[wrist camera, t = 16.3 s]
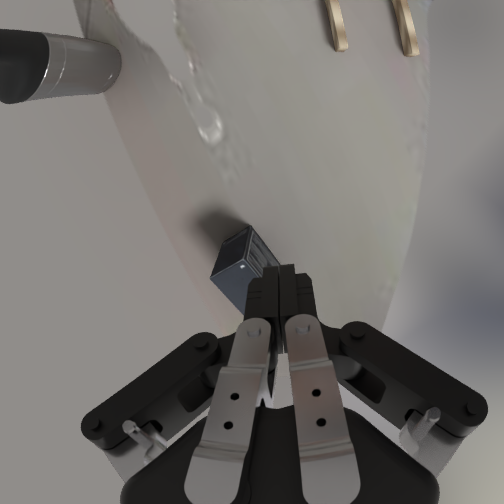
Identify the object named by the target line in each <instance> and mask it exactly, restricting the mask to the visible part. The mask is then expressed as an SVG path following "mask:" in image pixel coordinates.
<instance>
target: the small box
mask: <svg viewBox="0 0 504 504" xmlns="http://www.w3.org/2000/svg"><path fill="white" fill-rule="evenodd" d="M277 265H278V267H279V265H280V263H279V262H278V261H277V259H276V258H275V257H274V255H273V254H272V253H271V251H270V250H269V249H268V247H267V246H266V245H265V243H264V242H263V241H262V239H261V238H260V237H259V235H258V234H257V233H256V232H255V230H254V229H253V228H252V226H249V227H247V228H246V229H245V230H242V231H241V232H240V233H238V234H236V235H235V236H233V237H232V238H229V239H228V240H226V241H225V242H224V243H223V244H222V247H221V249H220V252H219V255H218V258H217V260H216V263H215V265H214V268H213V271H212V274H211V276H210V280H211V281H212V282H213V283H214V284H215V285H216V286H217V287H218V288H219V289H220V291H221V292H222V293H223V294H224V295H225V296H226V297H227V298H228V299H229V300H230V301H231V302H232V303H233V305H234V306H235V307H236V308H237V309H238V310H239V311H240V312H241V313H242V314H243V315H244V313H245V305H246V300H247V299H246V298H247V290H248V284H249V283H250V282H251V280H252V279H253V278H258V277H263V267H266V266H277Z"/></svg>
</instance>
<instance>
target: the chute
mask: <svg viewBox="0 0 504 504" xmlns="http://www.w3.org/2000/svg"><path fill="white" fill-rule="evenodd" d="M392 3H393V6H394V10H395V14H396V18H397V22H398V26H399V31H400V36H401V40H402V46H403V51H404V56H408V57H413V56H416V55H419V49H418V44H417V39H416V34H415V30H414V25H413V21H412V17H411V13H410V9H409V6H408V2H407V0H392ZM325 4H326V8H327V12H328V17H329V21H330V26H331V31H332V36H333V41H334V46H335V52H344V51H345V50H346V49H348V43H347V38H346V33H345V28H344V24H343V19H342V15H341V10H340V6H339V2H338V0H325Z"/></svg>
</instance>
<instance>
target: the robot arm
mask: <svg viewBox="0 0 504 504" xmlns="http://www.w3.org/2000/svg"><path fill="white" fill-rule="evenodd" d="M120 68H121V57H120V54H119V52H118V50H117V49H116V48H115V47H114V46H112V45H108V44H104V43H100V42H98V41H93V40H89V39H84V38H78V37H73V36H67V35H58V34H50V33H42V32H30V31H21V30H9V29H0V101H1V102H3V103H5V104H14V103H19V102H24V101H31V100H37V99H44V98H52V97H61V96H73V95H88V94H99V93H102V92H104V91H106V90H107V89H108V88H109V87H111V86H112V84H113V83H114V82H115V80H116V79H117V77H118V75H119V72H120ZM246 299H247V300H246V305H245V313H244V320H243V322H242V323H241V324H240V325H239V326H238V328H237V331H236V332H235V333H233V334H231V335H229V336H226V337H222V338H219V339H217V337H216V336H215V335H214V334H212V333H208V332H202V333H198V334H195V335H193V336H192V337H190V338H189V339H188V340H186V341H185V342H184V343H183V344H181V345H180V346H179V347H177V348H176V349H175V350H173V351H172V352H171V353H169V354H168V355H167V356H165V357H164V358H163V359H161V360H160V361H159V362H157V363H156V364H155V365H153V366H152V367H151V368H149V369H148V370H147V371H146V372H144V373H143V374H141V375H140V376H139V377H137V378H136V379H135V380H133V381H132V382H131V383H129V384H128V385H126V386H125V387H124V388H122V389H121V390H120V391H118V392H117V393H115V394H114V395H113V396H111V397H110V398H109V399H107V400H106V401H105V402H103V403H101V404H100V405H99V406H97V407H96V408H94V409H93V410H92V411H90V412H89V413H88V414H86V416H85V417H84V418H83V420H82V423H81V431H82V433H83V435H84V436H85V437H86V438H87V439H89V440H90V441H91V442H93V443H94V444H95V445H96V446H97V447H98V448H100V449H101V450H102V451H104V453H105V454H106V456H107V457H108V459H109V461H110V462H111V464H112V465H113V467H114V468H115V470H116V471H117V472H118V474H119V475H120V477H121V478H122V479H123V481H124V482H125V485H124V486H123V489H122V492H121V496H120V503H121V504H438V501H439V494H440V492H439V485H438V482H437V479H436V478H437V477H438V475H439V474H440V473H441V471H442V470H443V469H444V467H445V466H446V465H447V463H448V462H449V460H450V459H451V458H452V456H453V455H454V453H455V452H456V450H457V449H458V447H459V446H460V444H461V443H462V441H463V440H464V439H465V438H466V437H467V436H468V435H469V434H470V433H471V432H473V431H474V430H475V429H476V428H477V427H478V426H479V425H480V424H481V423H482V422H483V421H484V420H485V418H486V416H487V413H488V405H487V402H486V400H485V399H484V397H483V396H482V395H480V394H479V393H478V392H476V391H474V390H472V389H471V388H469V387H468V386H466V385H465V384H463V383H461V382H460V381H458V380H457V379H455V378H453V377H452V376H450V375H449V374H447V373H445V372H444V371H442V370H440V369H439V368H437V367H436V366H434V365H432V364H431V363H429V362H428V361H426V360H425V359H423V358H421V357H420V356H418V355H416V354H415V353H413V352H412V351H410V350H409V349H407V348H405V347H404V346H402V345H400V344H399V343H397V342H396V341H394V340H392V339H391V338H389V337H388V336H386V335H384V334H383V333H381V332H380V331H378V330H376V329H375V328H373V327H372V326H370V325H368V324H367V323H364V322H359V321H354V322H350V323H347V324H346V325H344V326H343V327H342V328H341V329H337V328H331V327H328V326H326V325H324V324H322V323H321V322H320V321H319V319H318V317H317V312H316V305H315V299H314V292H313V286H312V280H311V278H310V277H309V276H308V275H307V274H306V273H301V274H295V268H294V264H287V265H279V267H278V265H277V266H266V267H263V277H258V278H253V279H252V280H251V282H250V283H249V284H248V290H247V298H246ZM283 345H284V353H288V360H289V370H290V378H291V387H292V396H293V405H291V406H287V407H284V408H280V409H273V402H274V393H275V385H276V376H277V363H278V354H283ZM337 381H338V382H339V383H340V384H341V385H342V386H343V387H345V388H346V389H347V390H349V391H350V392H351V393H352V394H354V395H355V396H356V397H358V398H359V399H360V400H361V401H363V402H364V403H365V404H367V405H368V406H369V407H370V408H372V409H373V410H374V411H376V412H377V413H378V414H380V415H381V416H382V417H384V418H385V419H386V420H388V421H389V422H391V423H392V424H393V425H394V426H396V427H397V428H399V429H400V434H399V440H400V443H401V445H402V446H403V447H404V448H405V449H406V451H407V452H408V454H407V453H406V452H405V451H404V450H402V449H401V448H400V447H399V446H397V445H396V444H395V443H393V442H392V441H391V440H390V439H389V438H388V437H386V436H385V435H384V434H383V433H382V432H380V431H379V430H378V429H377V428H375V427H374V426H373V425H372V424H371V423H370V422H368V421H367V420H366V419H365V418H364V417H363V416H361V415H360V414H358V413H356V412H355V411H353V410H351V409H348V408H345V407H343V404H342V399H341V395H340V391H339V386H338V382H337ZM209 406H210V409H209V412H208V416H206V417H204V418H203V419H201V420H200V421H198V422H197V423H196V424H195V425H194V426H193V427H191V428H190V429H189V430H188V431H187V432H186V433H185V434H183V435H182V436H181V437H180V438H179V439H178V440H177V441H175V442H174V443H173V444H172V445H171V446H169V447H168V448H167V441H168V440H169V439H171V438H172V437H173V436H174V435H175V434H177V433H178V432H179V431H181V430H182V429H183V428H184V427H186V426H187V425H188V424H189V423H190V422H191V421H193V420H194V419H195V418H196V417H197V416H199V415H200V414H201V413H202V412H203V411H205V410H206V409H207V408H208V407H209Z"/></svg>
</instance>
